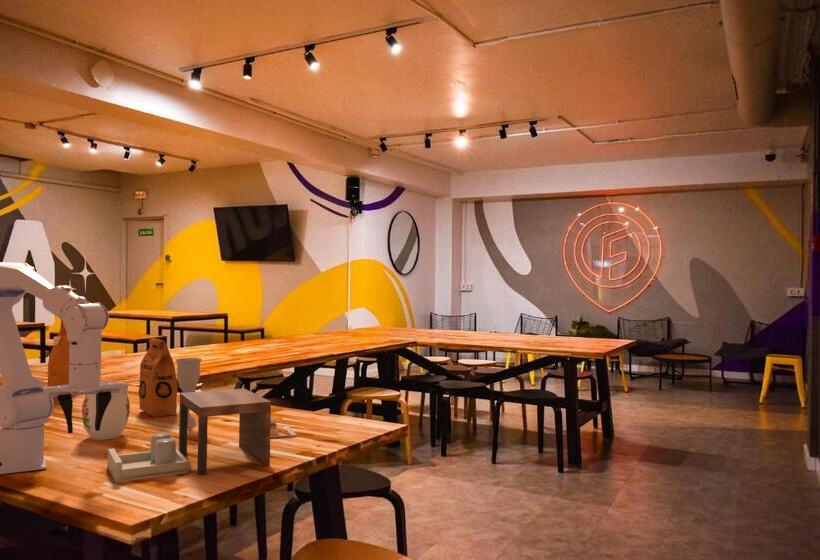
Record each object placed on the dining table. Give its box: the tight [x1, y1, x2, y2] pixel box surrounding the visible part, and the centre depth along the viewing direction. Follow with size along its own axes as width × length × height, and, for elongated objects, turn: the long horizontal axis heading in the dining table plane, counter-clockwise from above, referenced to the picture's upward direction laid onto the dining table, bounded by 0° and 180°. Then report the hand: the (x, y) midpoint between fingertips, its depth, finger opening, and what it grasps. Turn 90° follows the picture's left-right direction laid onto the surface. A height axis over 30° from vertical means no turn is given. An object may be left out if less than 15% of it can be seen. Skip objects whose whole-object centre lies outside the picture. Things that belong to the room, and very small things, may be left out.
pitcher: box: [81, 381, 131, 441], centre depth 164 cm, size 11×18×14 cm, turn 34°
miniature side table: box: [178, 387, 272, 477], centre depth 144 cm, size 15×19×14 cm
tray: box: [107, 432, 190, 483], centre depth 136 cm, size 14×12×6 cm
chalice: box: [175, 357, 202, 428], centre depth 178 cm, size 7×7×18 cm
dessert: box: [270, 417, 297, 439], centre depth 170 cm, size 12×12×5 cm
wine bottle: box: [47, 318, 76, 393], centre depth 220 cm, size 10×10×30 cm
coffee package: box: [137, 337, 178, 418], centre depth 193 cm, size 10×12×22 cm
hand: (83, 431), depth 130 cm, fingers open, 4 cm apart
